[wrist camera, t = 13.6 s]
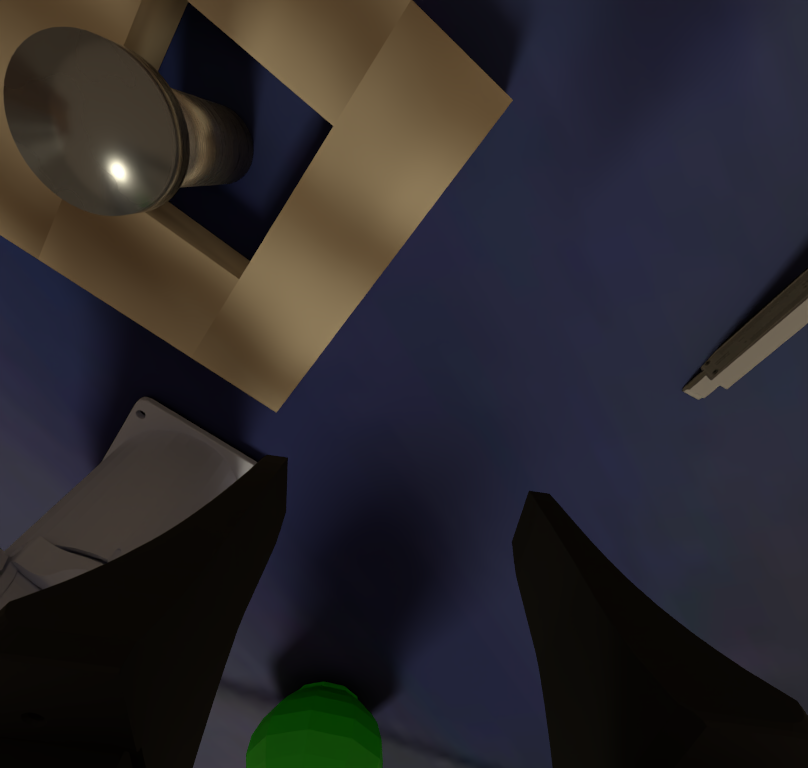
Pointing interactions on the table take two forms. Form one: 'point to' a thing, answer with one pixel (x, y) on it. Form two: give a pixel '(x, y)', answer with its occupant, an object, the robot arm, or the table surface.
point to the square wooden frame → (308, 204)
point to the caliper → (754, 339)
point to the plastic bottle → (317, 732)
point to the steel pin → (114, 125)
